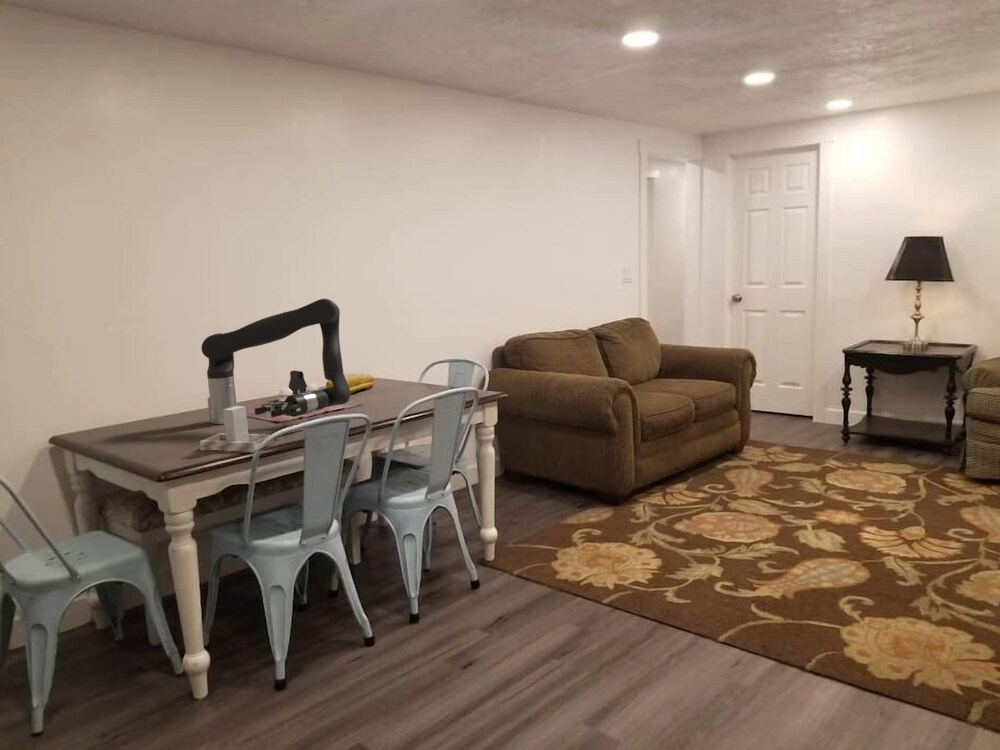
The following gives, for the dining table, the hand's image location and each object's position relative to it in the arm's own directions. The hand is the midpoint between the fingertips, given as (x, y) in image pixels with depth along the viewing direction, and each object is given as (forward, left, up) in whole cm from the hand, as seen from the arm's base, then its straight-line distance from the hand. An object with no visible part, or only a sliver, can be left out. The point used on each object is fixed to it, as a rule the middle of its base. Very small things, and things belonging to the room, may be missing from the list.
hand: (263, 413), depth 251 cm
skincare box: (-4, -10, -8) cm, 14 cm away
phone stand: (-27, +68, -9) cm, 73 cm away
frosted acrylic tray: (-4, -10, -9) cm, 14 cm away
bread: (-11, +84, -10) cm, 86 cm away
